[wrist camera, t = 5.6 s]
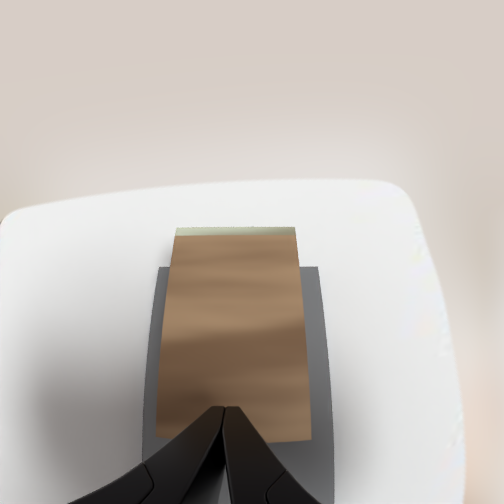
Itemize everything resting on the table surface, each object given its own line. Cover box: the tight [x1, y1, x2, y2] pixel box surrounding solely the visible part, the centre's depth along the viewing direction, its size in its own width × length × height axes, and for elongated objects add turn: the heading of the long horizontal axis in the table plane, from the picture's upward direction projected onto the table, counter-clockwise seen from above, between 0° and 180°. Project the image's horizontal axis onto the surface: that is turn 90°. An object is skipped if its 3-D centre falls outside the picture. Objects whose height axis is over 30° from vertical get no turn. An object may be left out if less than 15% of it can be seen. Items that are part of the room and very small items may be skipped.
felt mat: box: [142, 267, 334, 504], centre depth 14 cm, size 15×10×1 cm, turn 1°
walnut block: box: [156, 227, 312, 443], centre depth 14 cm, size 4×6×10 cm
